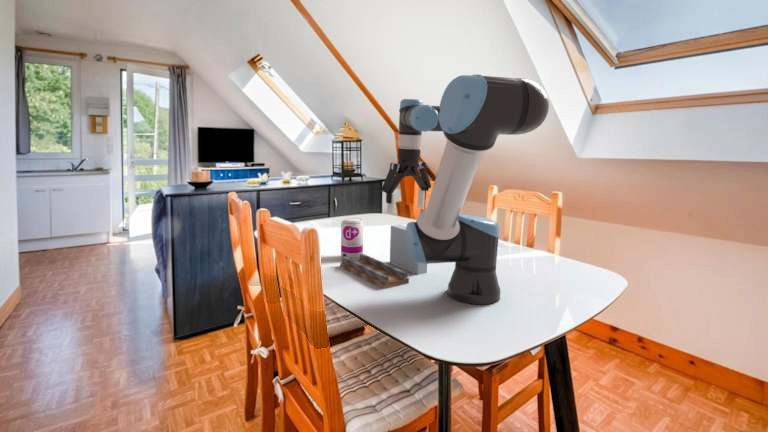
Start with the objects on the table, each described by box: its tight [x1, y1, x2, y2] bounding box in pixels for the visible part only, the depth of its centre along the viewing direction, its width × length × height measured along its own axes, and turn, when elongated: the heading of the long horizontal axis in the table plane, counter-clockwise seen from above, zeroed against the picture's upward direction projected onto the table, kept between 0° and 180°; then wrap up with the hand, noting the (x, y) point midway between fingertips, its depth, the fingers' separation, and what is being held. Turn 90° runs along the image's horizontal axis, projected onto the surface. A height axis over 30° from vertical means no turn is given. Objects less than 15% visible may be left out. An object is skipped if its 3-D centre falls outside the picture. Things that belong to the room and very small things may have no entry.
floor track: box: [339, 253, 410, 290], centre depth 136 cm, size 26×10×4 cm, turn 36°
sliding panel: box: [389, 224, 428, 275], centre depth 143 cm, size 16×4×14 cm, turn 36°
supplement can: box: [340, 217, 364, 260], centre depth 153 cm, size 8×8×15 cm
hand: (405, 210), depth 139 cm, fingers open, 13 cm apart
